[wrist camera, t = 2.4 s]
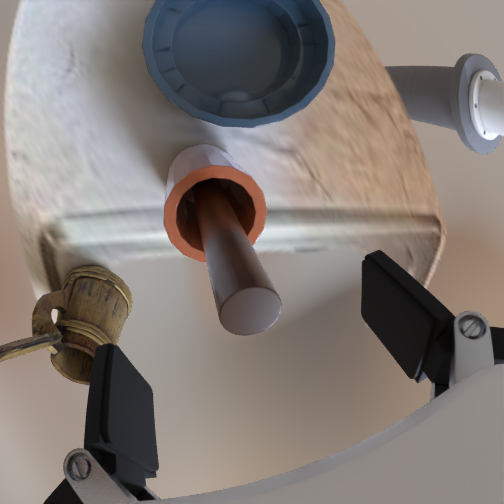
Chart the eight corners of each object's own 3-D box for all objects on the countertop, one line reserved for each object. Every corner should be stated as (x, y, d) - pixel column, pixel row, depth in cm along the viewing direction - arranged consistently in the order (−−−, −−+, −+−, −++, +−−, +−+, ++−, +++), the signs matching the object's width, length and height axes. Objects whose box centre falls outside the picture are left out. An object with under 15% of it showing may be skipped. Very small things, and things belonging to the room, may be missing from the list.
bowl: (287, -21, 19) (311, -41, 14) (319, 106, 27) (349, 109, 22) (136, 5, 18) (127, -17, 13) (173, 142, 26) (172, 151, 21)
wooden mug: (84, 219, 27) (15, 340, 11) (145, 309, 34) (143, 442, 19) (31, 253, 26) (-38, 367, 11) (92, 332, 34) (73, 453, 18)
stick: (211, 163, 27) (276, 277, 10) (217, 186, 28) (286, 323, 11) (187, 171, 27) (210, 299, 10) (194, 193, 28) (229, 343, 11)
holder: (226, 135, 27) (254, 152, 17) (242, 197, 30) (274, 244, 21) (159, 156, 26) (148, 186, 17) (180, 217, 30) (184, 274, 20)
